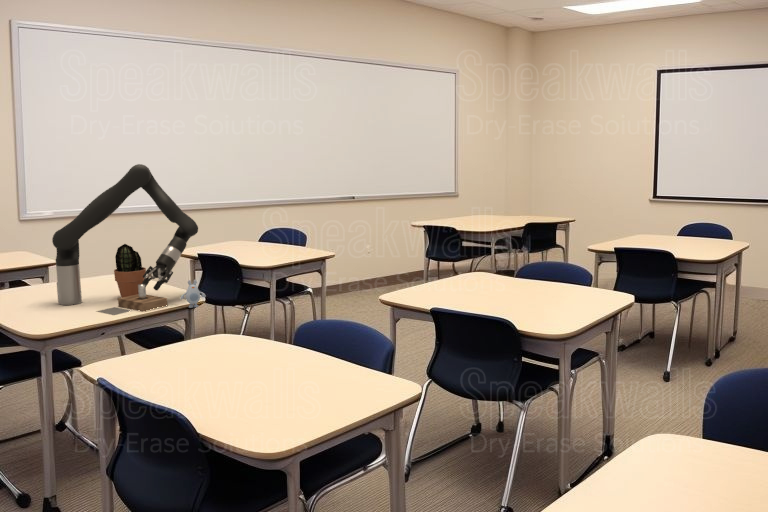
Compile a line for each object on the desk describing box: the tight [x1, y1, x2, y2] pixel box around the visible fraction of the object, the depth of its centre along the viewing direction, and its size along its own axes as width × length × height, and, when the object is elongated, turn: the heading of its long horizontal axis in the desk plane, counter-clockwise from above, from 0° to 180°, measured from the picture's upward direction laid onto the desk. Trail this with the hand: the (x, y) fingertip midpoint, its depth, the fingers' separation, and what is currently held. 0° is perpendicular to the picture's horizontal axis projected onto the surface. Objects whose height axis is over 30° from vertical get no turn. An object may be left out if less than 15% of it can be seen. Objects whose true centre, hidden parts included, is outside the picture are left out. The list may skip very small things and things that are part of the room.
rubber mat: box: [95, 306, 131, 316], centre depth 286 cm, size 12×9×1 cm
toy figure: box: [179, 279, 207, 309], centre depth 294 cm, size 11×6×12 cm, turn 114°
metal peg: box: [138, 284, 147, 300], centre depth 294 cm, size 3×3×10 cm
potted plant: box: [113, 243, 147, 298], centre depth 312 cm, size 14×14×25 cm
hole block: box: [117, 293, 168, 312], centre depth 294 cm, size 17×12×4 cm
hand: (148, 288), depth 296 cm, fingers open, 8 cm apart
